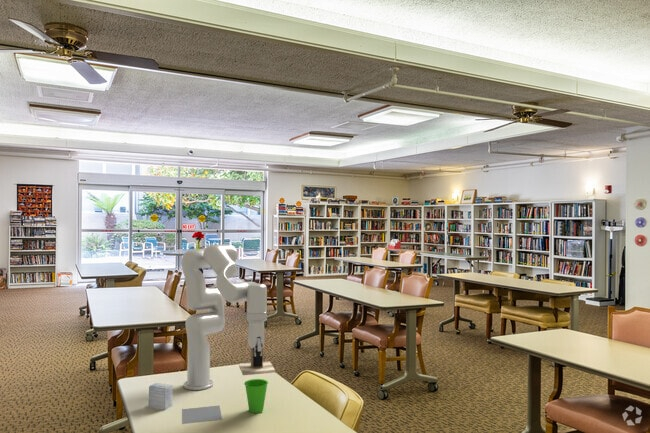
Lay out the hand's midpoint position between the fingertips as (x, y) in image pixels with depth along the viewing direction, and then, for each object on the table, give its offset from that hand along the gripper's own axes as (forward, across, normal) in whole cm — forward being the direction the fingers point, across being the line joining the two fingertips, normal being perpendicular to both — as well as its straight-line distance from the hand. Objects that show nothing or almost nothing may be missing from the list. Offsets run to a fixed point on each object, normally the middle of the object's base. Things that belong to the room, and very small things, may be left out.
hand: (256, 364), depth 183 cm
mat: (+18, -2, -20) cm, 27 cm away
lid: (+2, 0, 0) cm, 2 cm away
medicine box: (+18, -14, -35) cm, 42 cm away
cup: (+18, 0, 0) cm, 18 cm away
